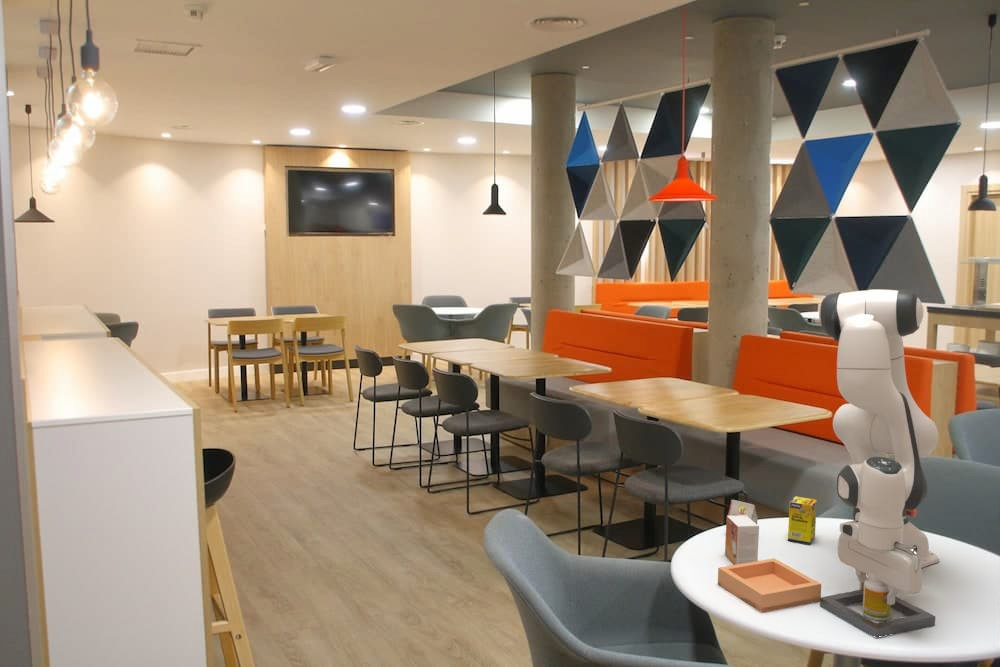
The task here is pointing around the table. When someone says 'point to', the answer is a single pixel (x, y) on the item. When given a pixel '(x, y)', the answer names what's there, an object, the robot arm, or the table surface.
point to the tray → (769, 584)
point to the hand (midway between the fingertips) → (876, 597)
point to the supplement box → (802, 520)
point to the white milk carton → (742, 510)
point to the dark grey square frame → (912, 622)
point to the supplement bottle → (875, 599)
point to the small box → (741, 539)
